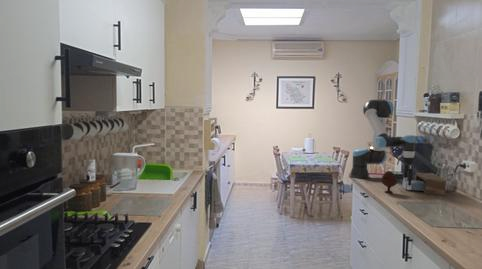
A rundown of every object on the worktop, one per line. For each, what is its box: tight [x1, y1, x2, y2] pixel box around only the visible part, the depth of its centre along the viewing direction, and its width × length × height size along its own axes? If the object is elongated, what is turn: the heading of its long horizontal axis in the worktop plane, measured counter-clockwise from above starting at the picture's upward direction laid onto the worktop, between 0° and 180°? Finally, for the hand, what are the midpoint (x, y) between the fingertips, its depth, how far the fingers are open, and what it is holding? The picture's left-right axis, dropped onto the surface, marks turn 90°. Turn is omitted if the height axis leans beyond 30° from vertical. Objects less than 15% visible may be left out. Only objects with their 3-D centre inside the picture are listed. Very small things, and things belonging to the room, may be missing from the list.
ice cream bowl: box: [380, 170, 399, 195], centre depth 254 cm, size 11×11×15 cm
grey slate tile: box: [402, 179, 426, 192], centre depth 265 cm, size 10×18×5 cm, turn 80°
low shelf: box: [414, 172, 447, 196], centre depth 263 cm, size 26×12×10 cm, turn 170°
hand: (407, 188), depth 266 cm, fingers closed on grey slate tile, 10 cm apart
